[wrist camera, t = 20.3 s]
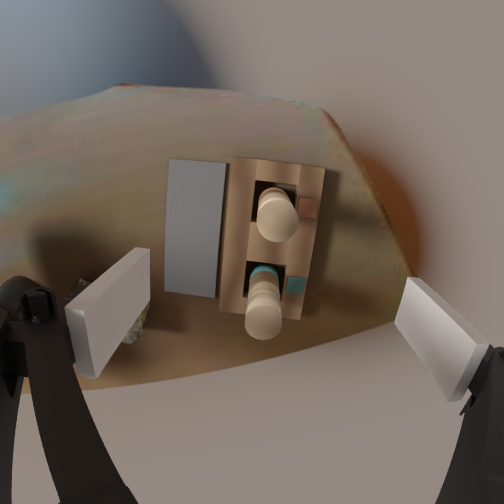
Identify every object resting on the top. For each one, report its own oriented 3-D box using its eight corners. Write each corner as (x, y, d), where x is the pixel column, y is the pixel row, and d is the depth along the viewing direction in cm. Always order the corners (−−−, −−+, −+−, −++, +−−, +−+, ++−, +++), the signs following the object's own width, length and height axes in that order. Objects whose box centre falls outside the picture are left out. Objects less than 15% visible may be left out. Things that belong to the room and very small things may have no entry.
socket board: (221, 303, 48) (218, 311, 46) (234, 156, 42) (232, 156, 39) (298, 312, 48) (300, 320, 46) (321, 167, 42) (325, 168, 39)
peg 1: (260, 184, 43) (258, 197, 29) (290, 188, 43) (302, 203, 29) (257, 213, 44) (253, 239, 31) (286, 217, 44) (295, 244, 31)
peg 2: (251, 261, 46) (245, 306, 33) (279, 263, 46) (284, 309, 33) (249, 286, 47) (243, 338, 34) (276, 289, 47) (280, 341, 34)
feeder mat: (165, 290, 48) (164, 291, 48) (170, 159, 42) (169, 159, 42) (215, 296, 48) (214, 297, 48) (226, 163, 42) (226, 163, 42)
